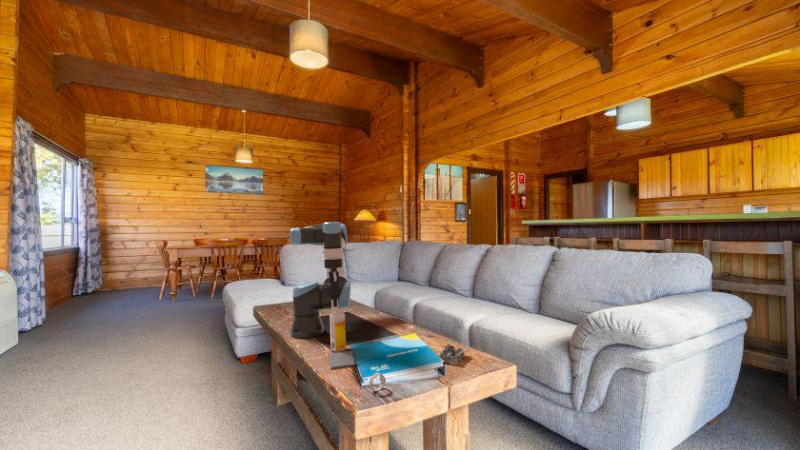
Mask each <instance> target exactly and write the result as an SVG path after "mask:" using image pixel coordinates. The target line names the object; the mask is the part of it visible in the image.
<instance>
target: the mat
mask: <svg viewBox="0 0 800 450" xmlns="http://www.w3.org/2000/svg"><path fill="white" fill-rule="evenodd" d="M351 351H352V350H348V351H347V350H346V351H340V352H332V353H327V355H328V356H327V358H328V361H329V366H330V369H331V370H336V369H343V368H349V367H356V366H355V363H354V359H353V356H354V355H353V356H352V353H353V351H352V352H351Z"/></svg>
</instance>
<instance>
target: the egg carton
mask: <svg viewBox="0 0 800 450" xmlns="http://www.w3.org/2000/svg"><path fill="white" fill-rule="evenodd" d="M465 350H466V349H465V348H460V347H457V349H456V347H455V346H454V345H453V344H452V345H451V344H450V343H447V345H445V347H444V348H443V349H442V350H441V351H440V353H439V354H438V355H437V356H439V357H440V358H441V359H442V360H444V362H445V363H444V364H446V363H447V364H449V366H453V365H458V363H459V362H462V358H465ZM440 358H439V359H440Z"/></svg>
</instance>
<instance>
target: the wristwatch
mask: <svg viewBox="0 0 800 450" xmlns="http://www.w3.org/2000/svg"><path fill="white" fill-rule="evenodd" d="M377 377H378V379H379V381H380V384H379V386H378V387H376V388H374V383H373V382H374V380H375V379H376V378H377ZM386 382H387V381H386V377H385V376H384V375H383V374H382V373H380V372H375V373H374V374H373V375H372V376H371V377H370V378H369V383H368V384H369V388H370V390H372V391H373V392H380V391H381V390H382V389H383V388H384V385H385V384H386Z"/></svg>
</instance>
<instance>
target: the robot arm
mask: <svg viewBox="0 0 800 450" xmlns="http://www.w3.org/2000/svg"><path fill="white" fill-rule="evenodd" d="M289 242H290V244H291V245H293V246H294V245H297V246H301V245H303V246H304V245H312V246H323V250H322V253H321V254H323V257H324V261H323V265H324V268H325V269H326V279H325V280H324V282H323V283H322V284H320V283H319V281H318V280H317V281H307V282H303V283H300V284H296V285H295V286H294V287H293V288H292V301H293V302H292V303H293V304H292V305H293V319H292V323H291V327H290V330H289V331H290V332H289V333H290V336H291V337H292V338H295V339H307V338H313V337H318V336H320V335H322V334H324V332H325V327H324V323H323V320H322V318H321V314H320V311H323V310H331V312H333V311H340V309H344V308H348V307H350V305H351V304H350V303H351V295H352V293H351V292H352V283H351V282H349V281H348V279H347V278H346V277H345V265H344V248H345V247H346V245H347V244H348V243H349V238H348V230H347V227H346V225H345V224H344V223H341V222H340V221H332V222H331V221H328V222H323V223H322V224H319V223H317V224H313V225H308V226H305V227H292V228H291V229H290V231H289Z"/></svg>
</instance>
